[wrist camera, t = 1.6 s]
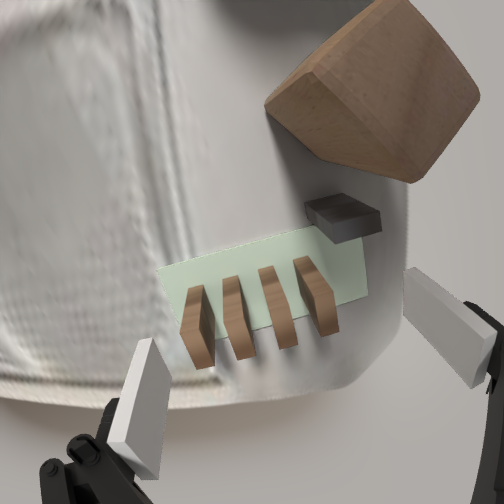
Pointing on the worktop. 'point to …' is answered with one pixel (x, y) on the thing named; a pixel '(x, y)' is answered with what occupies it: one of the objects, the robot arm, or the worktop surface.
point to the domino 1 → (237, 318)
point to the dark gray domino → (343, 217)
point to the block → (378, 94)
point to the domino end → (199, 328)
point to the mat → (263, 255)
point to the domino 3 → (316, 296)
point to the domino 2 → (278, 308)
